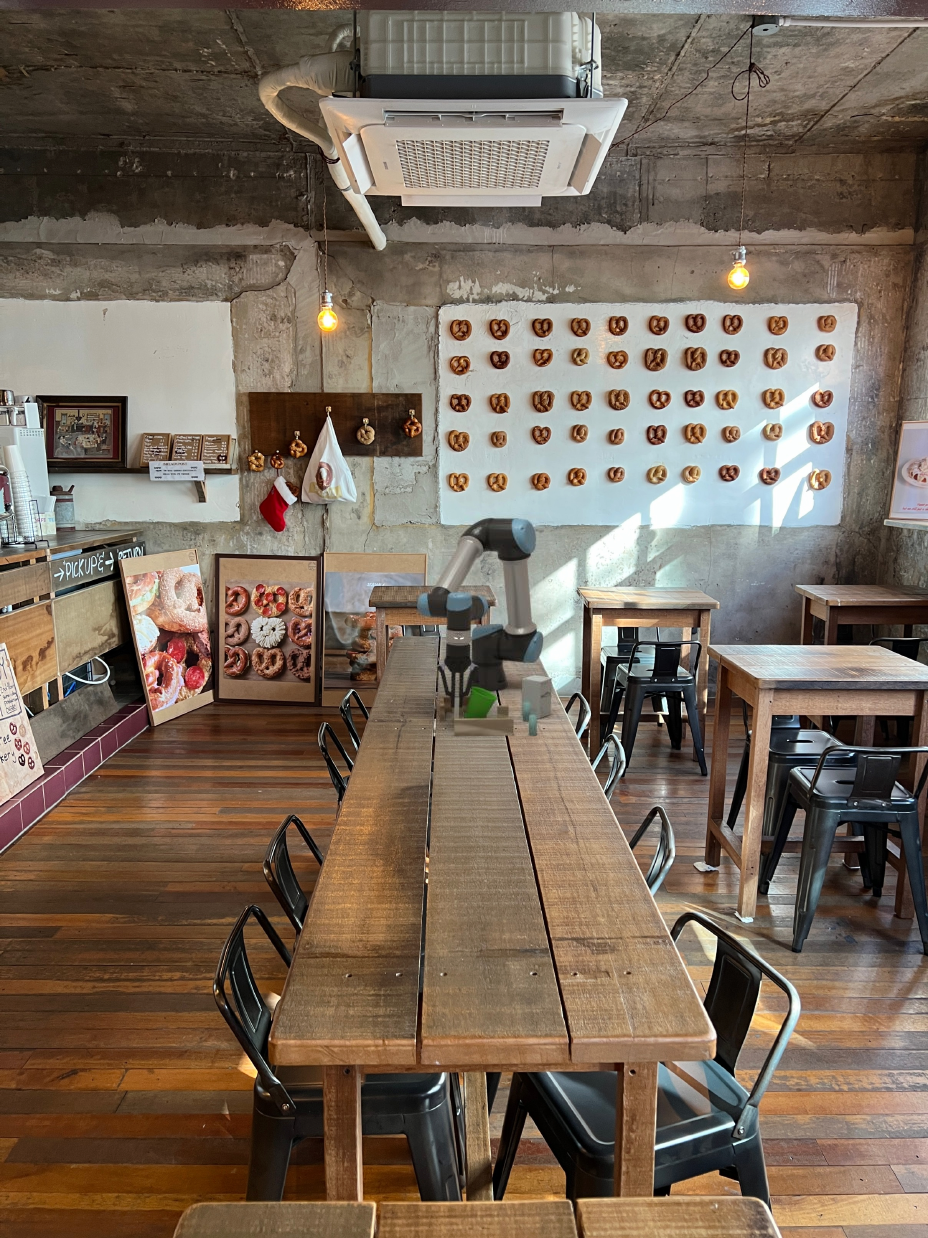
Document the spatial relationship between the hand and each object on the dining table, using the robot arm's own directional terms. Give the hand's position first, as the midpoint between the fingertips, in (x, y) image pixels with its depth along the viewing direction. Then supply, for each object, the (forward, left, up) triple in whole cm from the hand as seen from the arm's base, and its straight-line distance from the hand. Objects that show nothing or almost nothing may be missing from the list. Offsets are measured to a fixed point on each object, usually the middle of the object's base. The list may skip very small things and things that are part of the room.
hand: (456, 717), depth 271 cm
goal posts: (0, +23, -4) cm, 23 cm away
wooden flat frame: (-7, +6, -4) cm, 10 cm away
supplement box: (-14, +27, -4) cm, 31 cm away
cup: (0, +5, -3) cm, 5 cm away
